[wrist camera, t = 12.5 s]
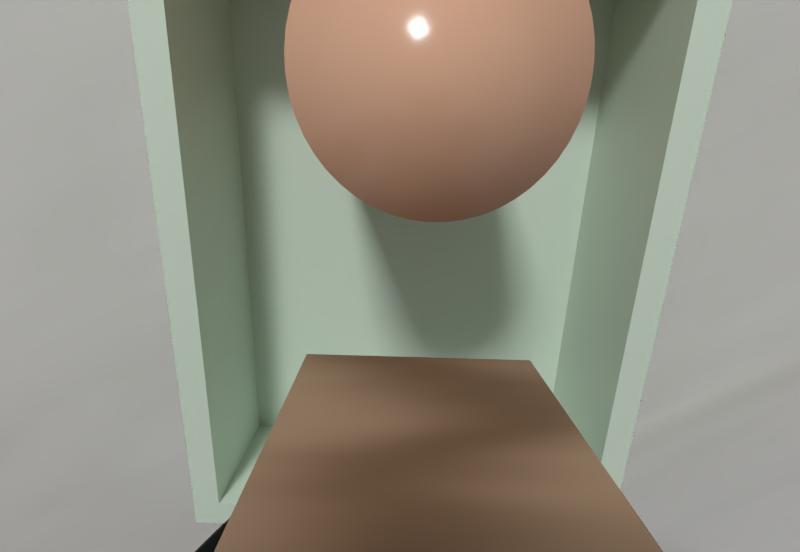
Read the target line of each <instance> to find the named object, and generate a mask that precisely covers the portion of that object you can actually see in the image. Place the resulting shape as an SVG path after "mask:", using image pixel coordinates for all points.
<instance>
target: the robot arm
mask: <svg viewBox="0 0 800 552" xmlns="http://www.w3.org/2000/svg"><path fill="white" fill-rule="evenodd" d="M229 519H230V518H229ZM229 519H228V520H227V521H226V522H225V523H224V524H223V525H222V526H221V527H220V528H218V529H217V530H216V531H215V532H214V533H213V534H212V535H211V536H210V537H209V538H208V539H207V540H206V541H205V542H204V543H203V544H202V545H201V546H200V547H199V548H198V549H197V550H196V551H195V552H214V551H215V548H216V546H217V544H218V542H219V540H220V538H221V536H222V534H223V531H224V529H225V527H226V525H227V523H228V521H229Z"/></svg>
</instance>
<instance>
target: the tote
mask: <svg viewBox="0 0 800 552" xmlns="http://www.w3.org/2000/svg"><path fill="white" fill-rule="evenodd" d="M127 1H128V9H129V16H130V24H131V31H132V39H133V47H134V54H135V62H136V69H137V77H138V85H139V92H140V100H141V107H142V115H143V123H144V130H145V138H146V145H147V153H148V161H149V168H150V176H151V183H152V191H153V199H154V206H155V214H156V221H157V229H158V237H159V244H160V252H161V259H162V267H163V275H164V282H165V290H166V297H167V305H168V313H169V320H170V328H171V335H172V343H173V351H174V358H175V366H176V373H177V381H178V389H179V396H180V404H181V411H182V419H183V427H184V434H185V442H186V449H187V457H188V465H189V472H190V480H191V487H192V495H193V503H194V510H195V518H196V523H225V522H226V521H227V520H228V519H229V518H230V516H231V514H232V512H233V510H234V508H235V506H236V504H237V502H238V499H239V497H240V495H241V493H242V491H243V489H244V487H245V485H246V482H247V480H248V478H249V476H250V474H251V472H252V470H253V467H254V465H255V463H256V461H257V459H258V457H259V455H260V453H261V450H262V448H263V446H264V444H265V442H266V440H267V438H268V435H269V433H270V431H271V429H272V427H273V425H274V423H275V421H276V418H277V416H278V414H279V412H280V410H281V408H282V406H283V404H284V401H285V399H286V397H287V395H288V393H289V391H290V389H291V386H292V384H293V382H294V380H295V378H296V376H297V374H298V372H299V369H300V367H301V365H302V363H303V361H304V359H305V357H306V355H307V354H326V355H362V356H397V357H432V358H468V359H503V360H530V361H531V362H532V364H533V365H534V367H535V368H536V370H537V371H538V372H539V374H540V375H541V377H542V378H543V380H544V381H545V383H546V384H547V385H548V387H549V388H550V390H551V391H552V393H553V394H554V396H555V397H556V398H557V400H558V401H559V403H560V404H561V406H562V407H563V408H564V410H565V411H566V413H567V414H568V416H569V417H570V419H571V420H572V421H573V423H574V424H575V426H576V427H577V429H578V430H579V432H580V433H581V434H582V436H583V437H584V439H585V440H586V442H587V443H588V444H589V446H590V447H591V449H592V450H593V452H594V453H595V455H596V456H597V457H598V459H599V460H600V462H601V463H602V465H603V466H604V467H605V469H606V470H607V472H608V473H609V475H610V476H611V478H612V479H613V480H614V482H615V483H616V485H617V486H618V488H619V489H621V485H622V481H623V476H624V472H625V468H626V463H627V459H628V454H629V450H630V446H631V441H632V437H633V433H634V428H635V424H636V420H637V415H638V411H639V407H640V402H641V398H642V394H643V389H644V385H645V380H646V376H647V372H648V367H649V363H650V359H651V354H652V350H653V346H654V341H655V337H656V333H657V328H658V324H659V320H660V315H661V311H662V306H663V302H664V298H665V293H666V289H667V285H668V280H669V276H670V272H671V267H672V263H673V259H674V254H675V250H676V246H677V241H678V237H679V232H680V228H681V224H682V219H683V215H684V211H685V206H686V202H687V198H688V193H689V189H690V185H691V180H692V176H693V172H694V167H695V163H696V158H697V154H698V150H699V145H700V141H701V137H702V132H703V128H704V124H705V119H706V115H707V111H708V106H709V102H710V98H711V93H712V89H713V84H714V80H715V76H716V71H717V67H718V63H719V58H720V54H721V50H722V45H723V41H724V37H725V32H726V28H727V24H728V19H729V15H730V10H731V6H732V2H733V0H589V4H590V8H591V12H592V18H593V27H594V37H595V49H594V67H593V75H592V83H591V87H590V91H589V95H588V99H587V103H586V106H585V108H584V111H583V114H582V116H581V119H580V122H579V124H578V126H577V128H576V130H575V132H574V134H573V136H572V138H571V140H570V142H569V143H568V145H567V146H566V148H565V149H564V151H563V152H562V154H561V155H560V157H559V158H558V160H557V161H556V162H555V163H554V165H553V166H552V167H551V168H550V169H549V170H548V172H547V173H546V174H545V175H544V176H543V177H542V178H541V179H540V180H539V181H538V182H536V183H535V184H534V185H533V186H532V187H531V188H530V189H528V190H527V191H526V192H524V193H523V194H522V195H520V196H519V197H517V198H516V199H515V200H513V201H511V202H509V203H507V204H505V205H504V206H502V207H500V208H498V209H496V210H493V211H491V212H488V213H486V214H483V215H480V216H476V217H472V218H468V219H465V220H458V221H450V222H423V221H416V220H410V219H405V218H402V217H398V216H395V215H391V214H388V213H386V212H384V211H381V210H379V209H377V208H375V207H372V206H371V205H369V204H367V203H366V202H364V201H362V200H361V199H359V198H357V197H356V196H354V195H353V194H352V193H351V192H349V191H348V190H347V189H346V188H344V187H343V186H342V185H341V184H340V183H339V182H338V181H337V180H336V179H335V178H334V177H333V176H332V175H331V174H330V173H329V172H328V171H327V170H326V169H325V168H324V166H323V165H322V164H321V162H320V161H319V160H318V158H317V157H316V156H315V154H314V153H313V151H312V149H311V148H310V146H309V144H308V143H307V141H306V139H305V137H304V136H303V133H302V131H301V129H300V126H299V124H298V122H297V119H296V117H295V114H294V111H293V107H292V104H291V101H290V97H289V93H288V87H287V81H286V75H285V61H284V43H285V29H286V22H287V17H288V12H289V7H290V3H291V0H127Z"/></svg>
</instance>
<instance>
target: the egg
mask: <svg viewBox="0 0 800 552" xmlns="http://www.w3.org/2000/svg"><path fill="white" fill-rule="evenodd" d="M594 49H595V37H594V27H593V18H592V12H591V8H590V4H589V0H291V3H290V7H289V12H288V17H287V22H286V29H285V43H284V61H285V75H286V81H287V87H288V93H289V97H290V101H291V104H292V107H293V111H294V114H295V117H296V119H297V122H298V124H299V126H300V129H301V131H302V133H303V136H304V137H305V139H306V141H307V143H308V144H309V146H310V148H311V149H312V151H313V153H314V154H315V156H316V157H317V158H318V160H319V161H320V162H321V164H322V165H323V166H324V168H325V169H326V170H327V171H328V172H329V173H330V174H331V175H332V176H333V177H334V178H335V179H336V180H337V181H338V182H339V183H340V184H341V185H342V186H343V187H344V188H346V189H347V190H348V191H349V192H351V193H352V194H353V195H354V196H356V197H357V198H359V199H361V200H362V201H364V202H366V203H367V204H369V205H371V206H372V207H375V208H377V209H379V210H381V211H384V212H386V213H388V214H391V215H395V216H398V217H402V218H405V219H410V220H416V221H423V222H450V221H458V220H465V219H468V218H472V217H476V216H480V215H483V214H486V213H488V212H491V211H493V210H496V209H498V208H500V207H502V206H504V205H505V204H507V203H509V202H511V201H513V200H515V199H516V198H517V197H519V196H520V195H522V194H523V193H524V192H526V191H527V190H528V189H530V188H531V187H532V186H533V185H534V184H535V183H536V182H538V181H539V180H540V179H541V178H542V177H543V176H544V175H545V174H546V173H547V172H548V170H549V169H550V168H551V167H552V166H553V165H554V163H555V162H556V161H557V160H558V158H559V157H560V155H561V154H562V152H563V151H564V149H565V148H566V146H567V145H568V143H569V142H570V140H571V138H572V136H573V134H574V132H575V130H576V128H577V126H578V124H579V122H580V119H581V116H582V114H583V111H584V108H585V106H586V103H587V99H588V95H589V91H590V87H591V83H592V75H593V67H594Z"/></svg>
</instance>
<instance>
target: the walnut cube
mask: <svg viewBox="0 0 800 552" xmlns="http://www.w3.org/2000/svg"><path fill="white" fill-rule="evenodd" d="M214 552H663V551H662V550H661V548H660V547H659V545H658V544H657V542H656V541H655V539H654V538H653V537H652V535H651V534H650V532H649V531H648V529H647V528H646V526H645V525H644V524H643V522H642V521H641V519H640V518H639V516H638V515H637V514H636V512H635V511H634V509H633V508H632V506H631V505H630V503H629V502H628V501H627V499H626V498H625V496H624V495H623V493H622V492H621V491H620V489H619V488H618V486H617V485H616V483H615V482H614V480H613V479H612V478H611V476H610V475H609V473H608V472H607V470H606V469H605V467H604V466H603V465H602V463H601V462H600V460H599V459H598V457H597V456H596V455H595V453H594V452H593V450H592V449H591V447H590V446H589V444H588V443H587V442H586V440H585V439H584V437H583V436H582V434H581V433H580V432H579V430H578V429H577V427H576V426H575V424H574V423H573V421H572V420H571V419H570V417H569V416H568V414H567V413H566V411H565V410H564V408H563V407H562V406H561V404H560V403H559V401H558V400H557V398H556V397H555V396H554V394H553V393H552V391H551V390H550V388H549V387H548V385H547V384H546V383H545V381H544V380H543V378H542V377H541V375H540V374H539V372H538V371H537V370H536V368H535V367H534V365H533V364H532V362H531V361H530V360H503V359H468V358H432V357H397V356H362V355H326V354H307V355H306V357H305V359H304V361H303V363H302V365H301V367H300V369H299V372H298V374H297V376H296V378H295V380H294V382H293V384H292V386H291V389H290V391H289V393H288V395H287V397H286V399H285V401H284V404H283V406H282V408H281V410H280V412H279V414H278V416H277V418H276V421H275V423H274V425H273V427H272V429H271V431H270V433H269V435H268V438H267V440H266V442H265V444H264V446H263V448H262V450H261V453H260V455H259V457H258V459H257V461H256V463H255V465H254V467H253V470H252V472H251V474H250V476H249V478H248V480H247V482H246V485H245V487H244V489H243V491H242V493H241V495H240V497H239V499H238V502H237V504H236V506H235V508H234V510H233V512H232V514H231V516H230V519H229V521H228V523H227V525H226V527H225V529H224V531H223V534H222V536H221V538H220V540H219V542H218V544H217V546H216V548H215V551H214Z"/></svg>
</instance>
